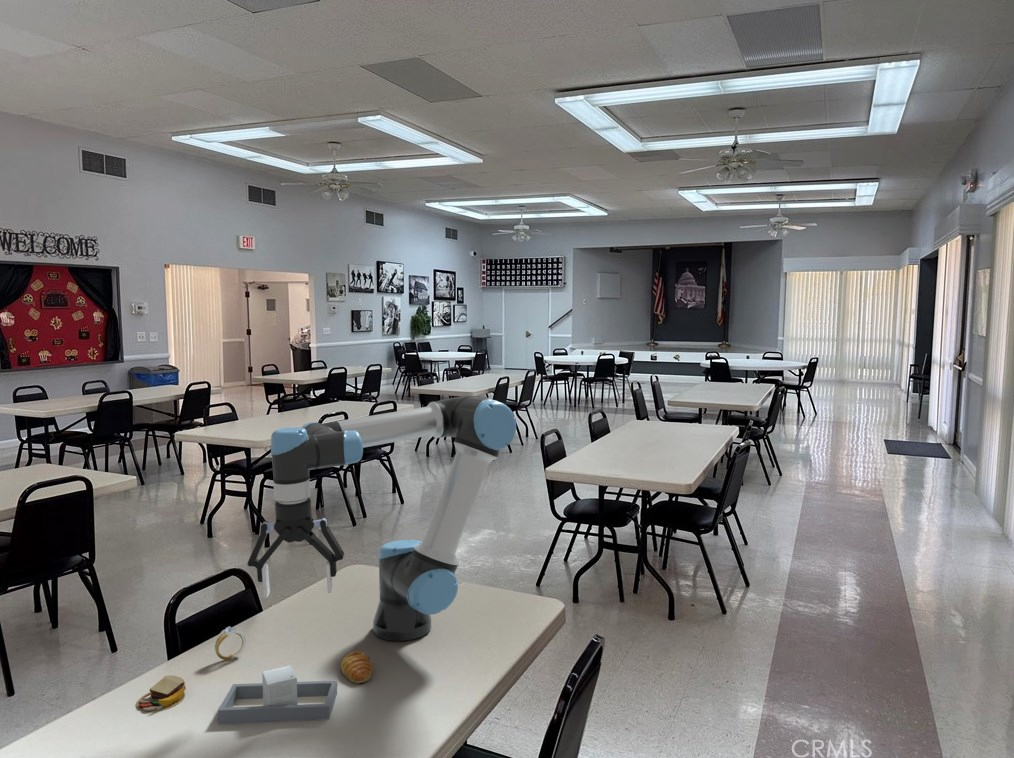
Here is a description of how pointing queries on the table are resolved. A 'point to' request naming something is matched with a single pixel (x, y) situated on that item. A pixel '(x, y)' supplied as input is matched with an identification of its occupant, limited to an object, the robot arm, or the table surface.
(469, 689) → the table surface
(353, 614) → the table surface
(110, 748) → the table surface
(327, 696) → the tray
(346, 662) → the pastry
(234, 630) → the ring
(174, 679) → the toy sandwich meal
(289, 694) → the product box
